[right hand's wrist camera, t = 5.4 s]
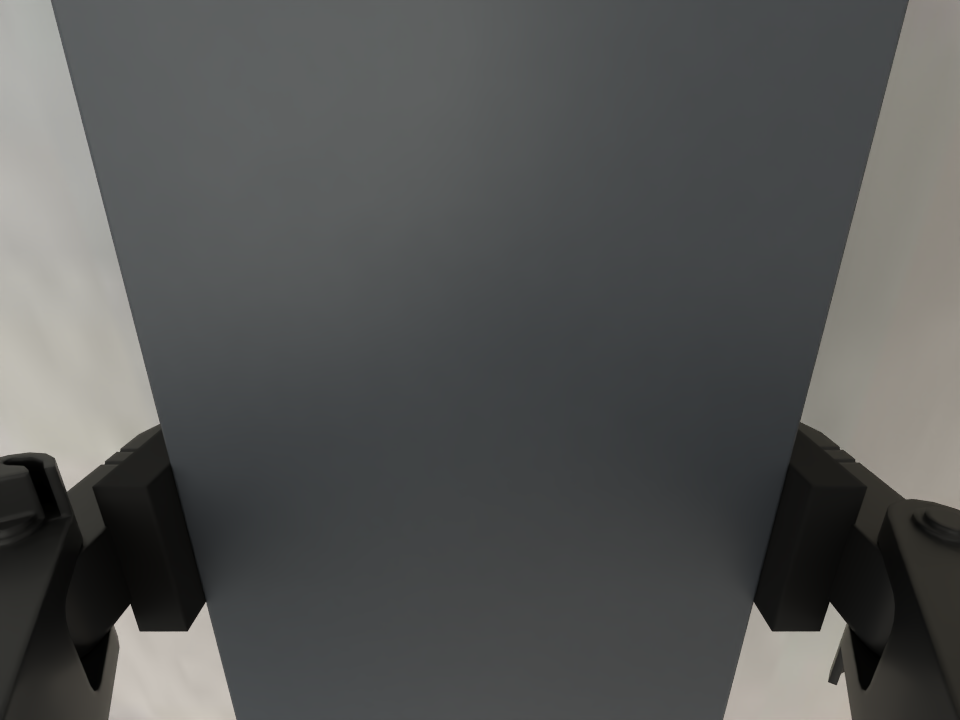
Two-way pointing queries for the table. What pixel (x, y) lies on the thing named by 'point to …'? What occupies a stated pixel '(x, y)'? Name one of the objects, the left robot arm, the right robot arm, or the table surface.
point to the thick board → (479, 326)
